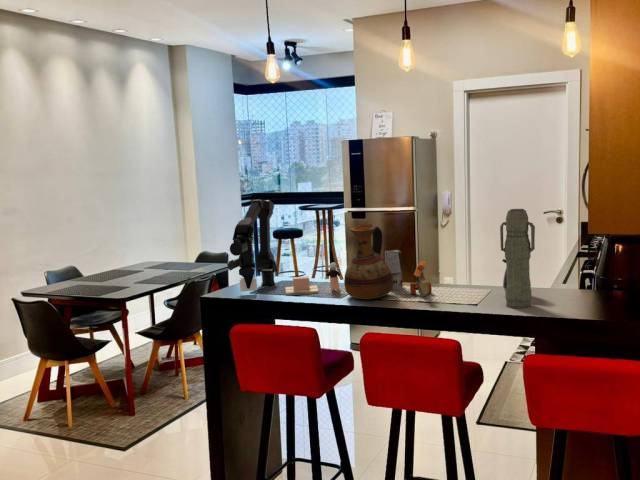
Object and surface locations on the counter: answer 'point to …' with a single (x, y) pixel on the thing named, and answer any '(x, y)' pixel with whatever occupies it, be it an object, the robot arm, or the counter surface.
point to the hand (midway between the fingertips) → (248, 287)
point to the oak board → (298, 292)
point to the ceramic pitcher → (368, 266)
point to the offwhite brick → (244, 287)
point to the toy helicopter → (420, 281)
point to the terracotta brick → (301, 283)
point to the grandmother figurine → (334, 277)
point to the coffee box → (395, 267)
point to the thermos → (518, 258)
